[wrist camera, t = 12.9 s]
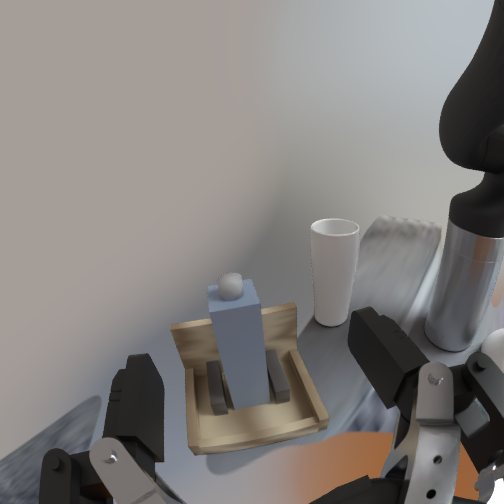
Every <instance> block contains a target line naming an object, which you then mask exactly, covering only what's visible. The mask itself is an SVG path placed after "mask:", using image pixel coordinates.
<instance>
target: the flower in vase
mask: <svg viewBox="0 0 504 504" xmlns="http://www.w3.org/2000/svg"><path fill="white" fill-rule="evenodd" d="M481 353H484V354H486V355H488V356H489V357H490V358H491V359H492V360H493V361H494V362H495V364H496V365H497V366H498V367H499V368H500V370H501V371H502V372H503V373H504V328H503V329H500V330H497V331H494V332H492V333H491V334H490V335H489V336H488V337H487V338H486V339H485V340H484V342H483V344H482V348H481Z"/></svg>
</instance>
